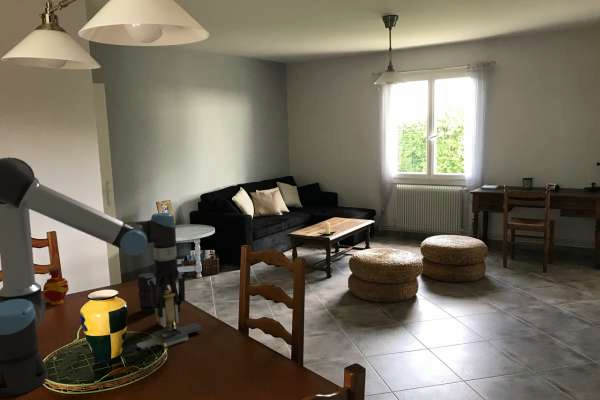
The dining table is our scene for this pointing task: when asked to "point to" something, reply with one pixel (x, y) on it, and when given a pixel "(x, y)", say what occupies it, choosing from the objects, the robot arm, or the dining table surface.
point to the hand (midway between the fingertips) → (169, 323)
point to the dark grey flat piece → (178, 337)
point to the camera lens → (145, 292)
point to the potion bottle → (55, 287)
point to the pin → (169, 310)
